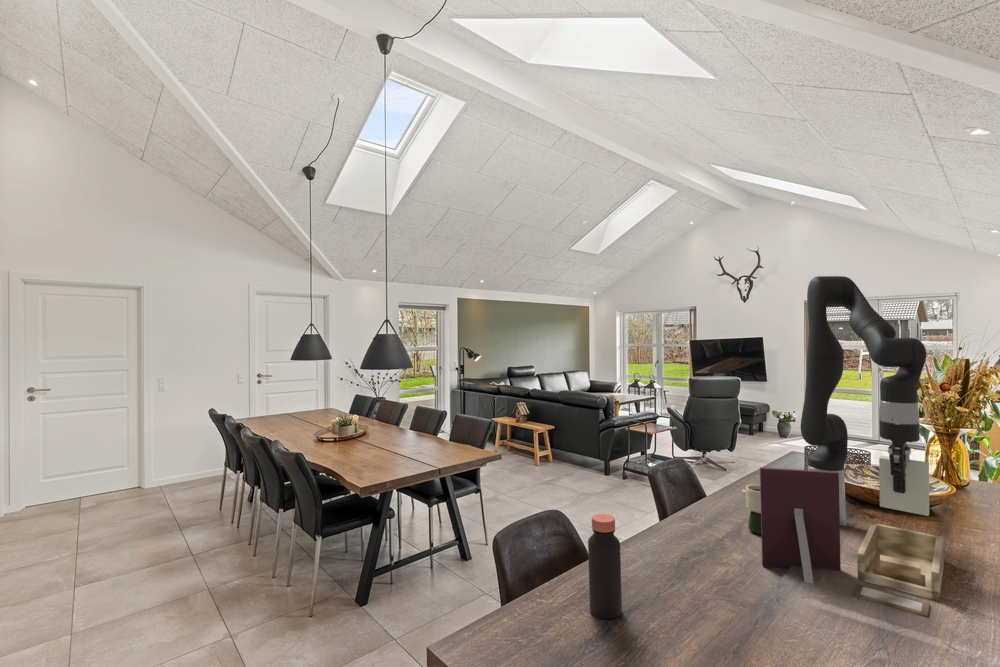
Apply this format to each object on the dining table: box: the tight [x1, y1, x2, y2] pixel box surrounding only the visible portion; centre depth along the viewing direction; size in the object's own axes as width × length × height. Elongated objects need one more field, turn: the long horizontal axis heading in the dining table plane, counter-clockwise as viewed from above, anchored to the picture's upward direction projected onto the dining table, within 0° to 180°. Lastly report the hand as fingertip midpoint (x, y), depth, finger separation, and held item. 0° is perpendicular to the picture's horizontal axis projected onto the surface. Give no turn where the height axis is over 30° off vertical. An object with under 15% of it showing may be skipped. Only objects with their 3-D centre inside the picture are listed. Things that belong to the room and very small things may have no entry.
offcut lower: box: [872, 563, 926, 587], centre depth 109 cm, size 9×4×2 cm, turn 45°
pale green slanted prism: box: [878, 455, 930, 517], centre depth 116 cm, size 9×3×12 cm, turn 45°
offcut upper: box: [880, 555, 921, 580], centre depth 109 cm, size 7×3×2 cm, turn 51°
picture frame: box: [759, 467, 842, 585], centre depth 114 cm, size 17×10×25 cm, turn 71°
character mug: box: [741, 484, 761, 535], centre depth 141 cm, size 11×7×13 cm, turn 30°
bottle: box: [587, 513, 623, 620], centre depth 103 cm, size 7×7×20 cm
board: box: [853, 583, 930, 618], centre depth 102 cm, size 12×6×2 cm, turn 45°
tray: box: [856, 522, 945, 602], centre depth 115 cm, size 14×24×7 cm, turn 135°
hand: (900, 490), depth 116 cm, fingers closed on pale green slanted prism, 3 cm apart
